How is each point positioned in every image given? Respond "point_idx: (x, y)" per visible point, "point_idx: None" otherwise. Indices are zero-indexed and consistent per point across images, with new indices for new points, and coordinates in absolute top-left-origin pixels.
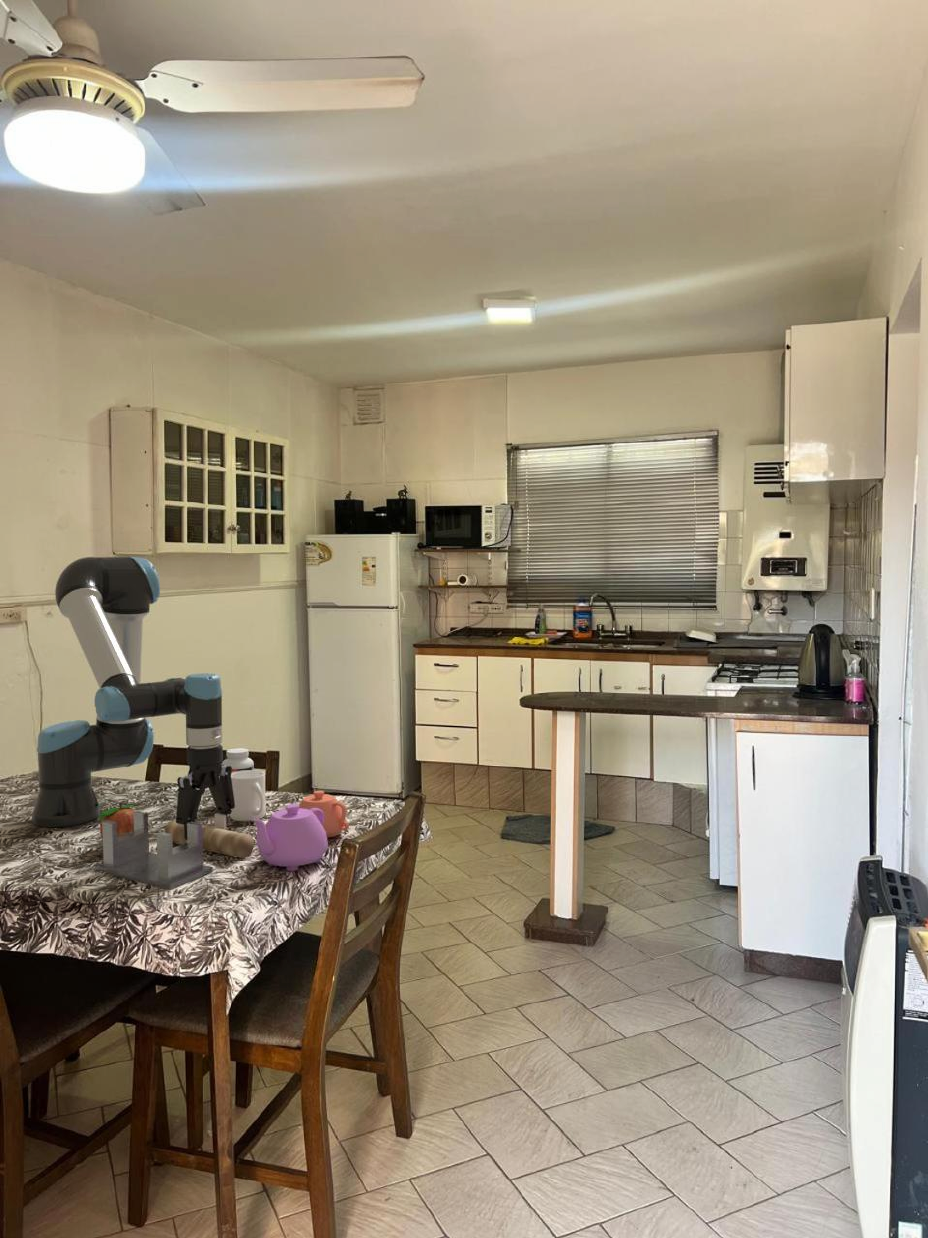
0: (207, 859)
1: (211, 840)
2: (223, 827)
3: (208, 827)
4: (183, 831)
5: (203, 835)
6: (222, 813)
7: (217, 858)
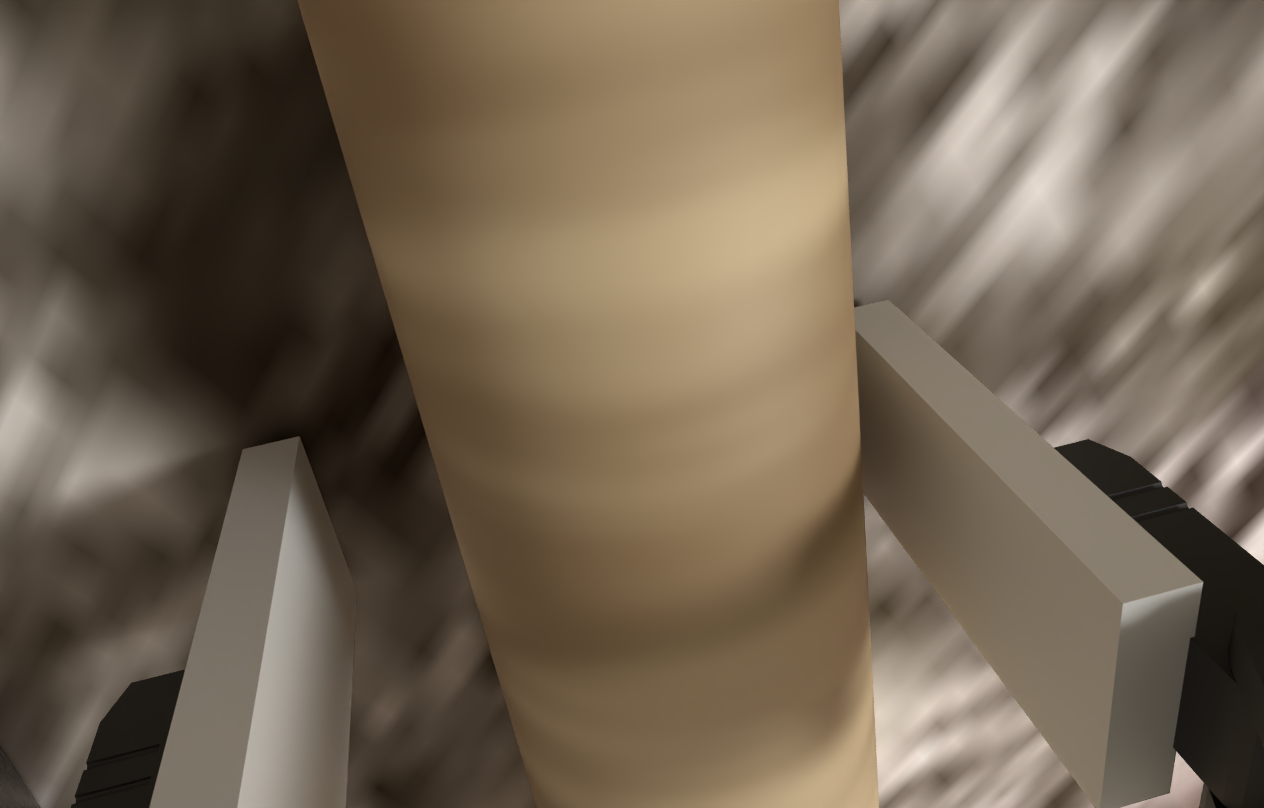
0: (373, 753)
1: (536, 800)
2: (967, 628)
3: (715, 657)
4: (376, 159)
5: (524, 675)
6: (1189, 732)
7: (481, 786)
